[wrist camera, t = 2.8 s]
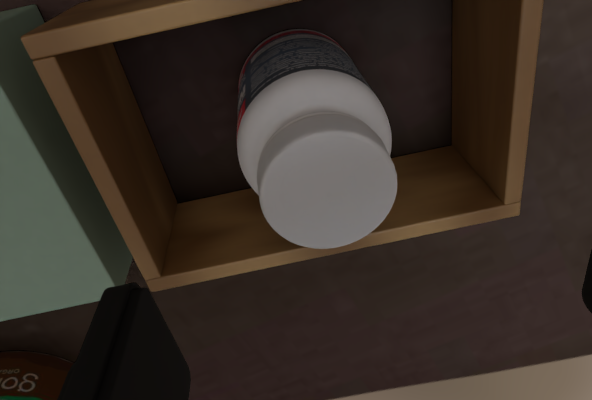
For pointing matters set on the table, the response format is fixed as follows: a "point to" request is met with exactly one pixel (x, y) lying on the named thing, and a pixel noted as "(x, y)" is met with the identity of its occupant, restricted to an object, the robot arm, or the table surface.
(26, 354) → the food container
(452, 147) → the wooden box
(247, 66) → the pill bottle
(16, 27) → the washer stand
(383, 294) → the table surface
